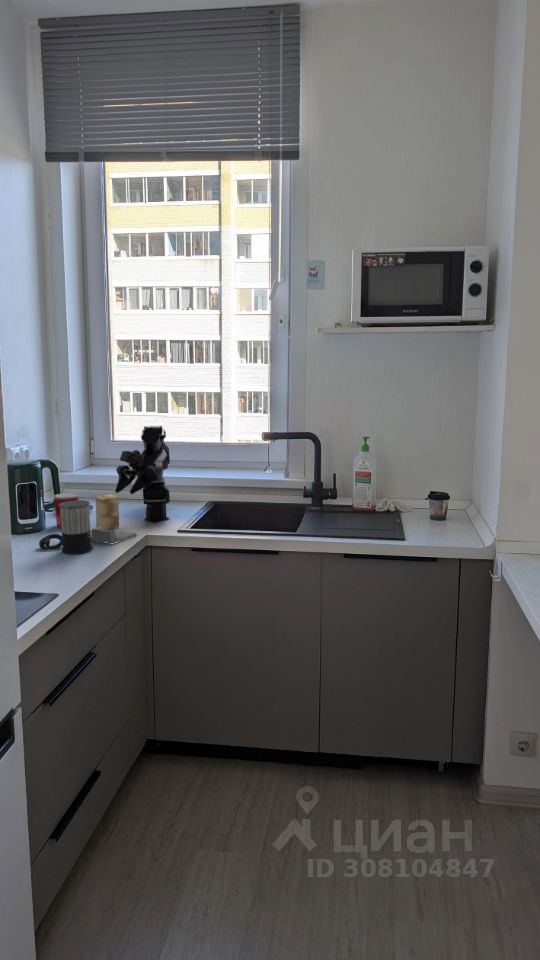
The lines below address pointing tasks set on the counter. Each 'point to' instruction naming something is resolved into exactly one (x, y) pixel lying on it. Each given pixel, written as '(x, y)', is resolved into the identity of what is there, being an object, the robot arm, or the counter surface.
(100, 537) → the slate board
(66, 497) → the canned food
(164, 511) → the robot arm
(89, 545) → the milk frother
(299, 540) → the counter surface
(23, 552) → the counter surface
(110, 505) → the oak block
